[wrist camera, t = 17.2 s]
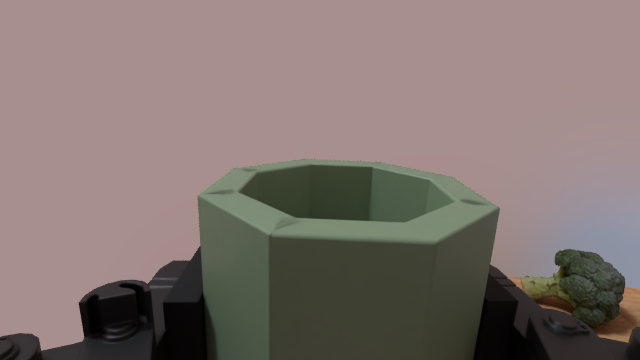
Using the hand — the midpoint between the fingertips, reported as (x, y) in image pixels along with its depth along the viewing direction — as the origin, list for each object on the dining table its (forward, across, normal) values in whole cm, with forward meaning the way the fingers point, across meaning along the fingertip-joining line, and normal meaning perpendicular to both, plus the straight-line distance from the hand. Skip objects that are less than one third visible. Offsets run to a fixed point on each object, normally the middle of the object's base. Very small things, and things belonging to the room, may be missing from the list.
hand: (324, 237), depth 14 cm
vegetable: (+35, +46, -30) cm, 66 cm away
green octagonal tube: (-5, 0, -5) cm, 7 cm away
